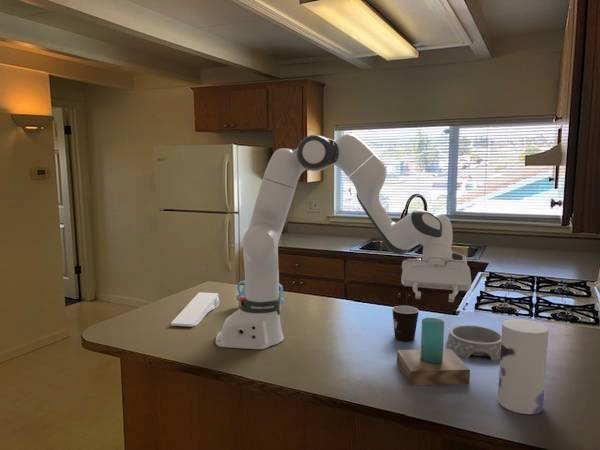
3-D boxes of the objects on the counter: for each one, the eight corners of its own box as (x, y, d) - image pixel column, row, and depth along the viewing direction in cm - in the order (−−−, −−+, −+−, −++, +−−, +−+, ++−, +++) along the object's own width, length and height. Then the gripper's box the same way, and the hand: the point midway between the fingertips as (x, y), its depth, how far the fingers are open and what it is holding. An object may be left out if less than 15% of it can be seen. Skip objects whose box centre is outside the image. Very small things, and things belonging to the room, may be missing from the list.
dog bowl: (512, 363, 140) (514, 345, 139) (448, 357, 143) (449, 340, 142) (500, 342, 156) (501, 326, 156) (442, 337, 160) (443, 322, 159)
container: (490, 395, 119) (494, 318, 117) (527, 393, 120) (533, 317, 118) (511, 416, 110) (516, 333, 107) (551, 414, 110) (558, 331, 108)
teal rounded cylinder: (424, 364, 128) (425, 325, 127) (417, 355, 134) (419, 317, 133) (445, 363, 129) (447, 324, 127) (438, 354, 135) (440, 317, 133)
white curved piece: (193, 343, 169) (218, 309, 196) (197, 325, 167) (222, 294, 193) (167, 335, 170) (196, 303, 196) (170, 317, 168) (199, 287, 194)
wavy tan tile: (410, 385, 125) (410, 370, 124) (396, 363, 139) (397, 350, 138) (469, 384, 125) (470, 369, 125) (450, 362, 139) (450, 349, 139)
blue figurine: (271, 301, 201) (271, 270, 199) (286, 312, 186) (286, 278, 185) (234, 306, 194) (234, 273, 192) (247, 317, 179) (246, 282, 178)
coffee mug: (418, 344, 153) (419, 314, 152) (391, 342, 155) (392, 312, 154) (416, 331, 165) (417, 304, 163) (391, 330, 166) (392, 302, 165)
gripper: (402, 252, 147) (397, 290, 139) (472, 256, 141) (471, 297, 133) (403, 263, 152) (398, 301, 144) (470, 268, 145) (470, 308, 137)
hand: (434, 299), depth 138 cm, fingers open, 8 cm apart
